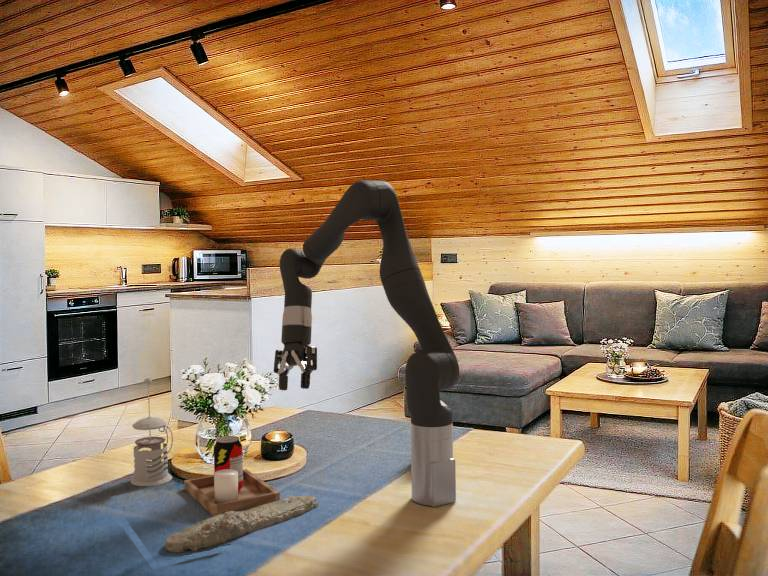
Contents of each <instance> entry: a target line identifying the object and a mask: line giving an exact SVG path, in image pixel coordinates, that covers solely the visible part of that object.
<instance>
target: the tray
mask: <svg viewBox="0 0 768 576" xmlns="http://www.w3.org/2000/svg"><path fill="white" fill-rule="evenodd" d="M183 484H184V485H183V486H184V487H183V489H184V490H185V492H186V493H187V494H189V495H190V496H191V497H192V498H193V499H195V501H196V502H197V503H198V504H199V505H201V506H202V507H203V508H204V510H206V512H208V513H209V514H210V516H211V517H213V516H216V515H218V514H225V512H227V511H234V512H238V511H245V510H249V509H251V508H255V507H257V506H260V505H264V504H267V503H271V502H275V501H279V500H281V498H280V497H281V492H280V491H278V490H277V489H275V488H274V487H273V486H271V485H270V484H268V483H267V482H266V481H264V480H263V479H261V478H260V477H258V476H256V475H255V474H254V473H252V472H251V471H249V470H248V469H247V468H245V469H244V468H243V487H242V488H241V489H240V490H239V491H238V500H233V501H228V502H223V503H218V504H215V503H214V474H212V475H206V476H202V477H201V476H199V477H195V478H190V479H185V480H183Z"/></svg>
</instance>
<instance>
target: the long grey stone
mask: <svg viewBox="0 0 768 576" xmlns="http://www.w3.org/2000/svg"><path fill="white" fill-rule="evenodd" d="M318 507H319V503H318V501H317V497H315V495H309V494H308V495H305V494H304V495H298V496H297V495H296V496H287V497H284V498H282V499H280V500H279V501H275V502H271V503H267V504H264V505H260V506H257V507H253V508H248V509H245V510H239V511H227V512H225V514H218V515H216V516H211V517H209V518H206V519H203V520H199V521H197V522H196V523H195V524H193V525H189V526H187V527H186V528H183V529H182V530H179V531H177V532H175V533H173V534H172V535H169V536H168V537H167V538H166V540H165V541H164V542H165V545H164V548H165V550H167V552H169V553H177V554H178V553H184V552H185V551H188V550H191V551H192V552H189V553H188V555H189V554H194V553H195V552H197V553H199V552H200V553H201V552H205V551H207V552H208V551H211V550H214V549H217V547H218V546H216V545H219V544H222V543H223V544H224V543H226V542H229V541H231V540H233V539H236V538H239V537H242V536H245V535H246V534H251V533H254V532H257V531H258V530H261V529H265V528H267V527H271V526H273V525H276V524H280V523H283V522H285V521H287V520H290V519H293V518H295V517H297V516H298V517H299V516H300V515H304V514H305V513H308V512H309V511H312V510H313V509H316V508H318ZM227 545H229V546H230V545H231V543H228V544H224V545H222V546H223V547H226V546H227ZM212 546H215V547H212ZM209 547H210V548H209ZM211 547H212V548H211ZM202 549H203V550H202Z"/></svg>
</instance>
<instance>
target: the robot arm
mask: <svg viewBox="0 0 768 576" xmlns="http://www.w3.org/2000/svg"><path fill="white" fill-rule="evenodd" d="M359 221H375V222H376V224H377V226H378V229H379V232H380V234H381V235H380V236H381V238H382V253H381V257H380V263H379V264H380V265H379V278H380V282H381V284H382V287H383V290H384V293H385V297H386V299H387V301H388V303H389V305H390V306H391V308H393V310H394V311H395V312H396V314H397V315H398V316H399V317H400V318H401V319H402V320H403V321H404V322H405V324H407V325H408V327H409V328H410V329H411V330H412V332H413V333H414V335H415V337H416V338H417V342H418V343H419V347H420V348H421V351H416V352H413V353H412V354H411V355H410V356H409V357H408V359H407V361H406V363H405V370H404V371H405V372H404V374H405V375H404V380H405V391H406V392H405V394H406V395H405V396H406V406H407V411H408V413H409V415H410V453H411V454H410V460H411V461H410V462H411V463H410V464H411V466H410V467H411V469H410V472H411V499H412V501H413V502H414V503H416V504H419V505H424V506H430V507H433V508H434V507H439V506H443V505H448V504H451V503H456V502H457V498H456V497H457V487H456V486H457V484H456V481H457V480H456V478H457V476H456V471H457V470H456V469H457V468H456V459H455V458H454V446H453V445H454V437H453V435H454V431H453V430H454V425H453V422H454V421H453V411H452V409H451V408H450V407H446V406H442V405H441V403H440V400H441V395H440V392H441V391H444V390H447V389H450V388H452V387H454V386H455V385H456V384H457V382H458V381H459V376H460V366H459V362H458V359H457V356H456V353H455V351H454V349H453V347H452V346H451V344H450V341H449V340H448V339H449V338H448V337H447V335H446V333H445V331H444V329H443V326H442V325H441V322H440V320H439V318H438V315H437V313H436V309H435V307H434V305H433V302H432V299H431V298H430V295H429V291H428V289H427V286H426V283H425V279H424V276H423V275H422V271H421V269H420V267H419V264H418V261H417V260H416V256H415V254H414V251H413V250H414V249H413V248H412V245H411V241H410V239H409V235H408V234H407V233H408V232H407V229H406V226H405V222H404V218H403V214H402V209H401V207H400V203H399V199H398V196H397V192H396V191H395V189H394V187H393V186H392V185H391V184H390V183H389V182H387V181H384V180H373V179H372V180H370V179H369V180H365V179H363V180H357V181H355V182H353V183H352V184H351V185H349V187H348V188H347V189H346V191H345V192H344V194H343V195H342V197H340V199H339V201H338V202H337V204H336V205H335V207H334V208H333V209H332V211H331V212H330V214H329V215H328V216H327V218H326V219H325V221H323V223H321V225H320V226H319V227H318V228H317V229H315V230H314V231H313V232H312V233H311V235H310V236H308V237H307V238H306V239H305V241H303V245H302V250H300V249H296V248H286V249H285V250H284V251H283V252H282V253H281V255H280V258H279V271H280V275H281V281H282V285H283V290H284V302H283V303H284V305H283V314H282V321H281V323H282V324H281V325H282V326H281V339H280V341H281V342H280V343H282V345H283V350H281V349H276V350H275V352H274V361H273V362H274V363H273V373H274V374H277V375H278V390H279V391H287V390H288V387H289V386H288V381H289V376H288V375H289V373H290V371H291V370H292V369H293V368H294V367H297V366H298V367H299V369H300V371H301V374H300V388H301V389H303V390H307V389H308V390H309V389H310V385H311V374H312V372H313V371H317V370H318V347H317V346H314V345H311V344H312V328H313V327H312V326H313V325H312V324H313V321H312V320H313V315H312V304H313V303H312V301H313V291H312V289H311V288H310V287H309V286H308V285H306V284H304V283H302V282H301V281H300V278H301V279H307V280H309V279H313V278H316V276H317V275H318V274H319V272H320V271H321V268H322V267H323V266H324V264H325V261H326V260H327V259H328V258H329V257H330V256H331V255H332V254H333V253H334V252H335V251H337V249H338V248H340V246H341V245H342V244H343V241H344V238H345V235H346V234H345V233H346V230H347V229H348V228H349V227H350V226H352V225H354V224H355V223H357V222H359Z"/></svg>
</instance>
